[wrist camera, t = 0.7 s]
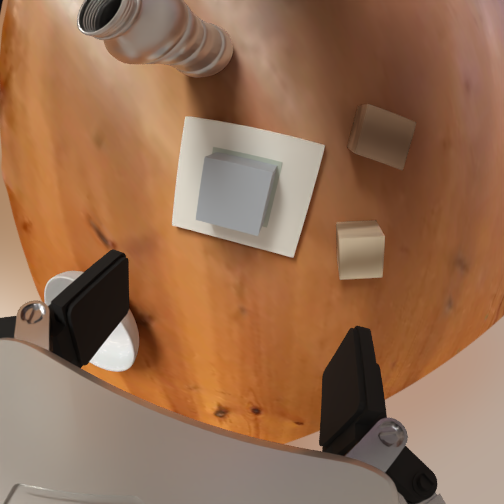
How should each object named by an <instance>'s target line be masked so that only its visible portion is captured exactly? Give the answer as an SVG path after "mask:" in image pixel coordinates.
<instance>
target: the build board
mask: <svg viewBox="0 0 504 504" xmlns="http://www.w3.org/2000/svg"><path fill="white" fill-rule="evenodd" d="M324 148H325V145H323V144H320V143H316V142H312V141H309V140H305V139H301V138H297V137H293V136H289V135H285V134H281V133H277V132H273V131H268V130H264V129H259V128H254V127H249V126H244V125H239V124H234V123H228V122H223V121H217V120H211V119H204V118H198V117H191V116H187V117H185V123H184V129H183V135H182V142H181V149H180V156H179V164H178V172H177V180H176V189H175V198H174V208H173V219H172V225H173V226H177V227H181V228H184V229H188V230H192V231H196V232H199V233H203V234H207V235H211V236H214V237H218V238H222V239H226V240H229V241H233V242H237V243H240V244H244V245H248V246H251V247H255V248H259V249H263V250H266V251H270V252H274V253H277V254H281V255H285V256H288V257H292V258H293V257H294V254H295V250H296V247H297V244H298V241H299V237H300V234H301V231H302V227H303V224H304V220H305V217H306V213H307V210H308V207H309V203H310V200H311V196H312V192H313V189H314V185H315V182H316V178H317V174H318V171H319V167H320V163H321V160H322V156H323V152H324ZM215 152H219V153H224V154H229V155H234V156H239V157H243V158H248V159H252V160H256V161H261V162H265V163H269V164H273V165H277V169H276V173H275V177H274V182H273V186H272V190H271V194H270V199H269V203H268V207H267V211H266V215H265V220H264V223H263V226H262V228H261V230H260V233H259V235H258V236H256V235H252V234H248V233H244V232H240V231H237V230H233V229H229V228H225V227H221V226H218V225H214V224H210V223H206V222H202V221H198V220H196V213H197V205H198V198H199V191H200V184H201V177H202V171H203V164H204V158H205V157H206V156H208V155H211V154H213V153H215Z"/></svg>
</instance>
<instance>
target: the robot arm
mask: <svg viewBox="0 0 504 504" xmlns="http://www.w3.org/2000/svg"><path fill="white" fill-rule="evenodd" d="M128 311H129V271H128V258H126V255H125V254H124V253H122V252H119V251H116V250H111V251H109V252H108V253H107V254H106V255H104V256H103V257H102V258H101V259H99V260H98V261H97V262H96V263H95V264H93V265H92V266H91V267H90V268H88V269H87V270H86V271H85V272H84V273H83V274H81V275H80V276H79V277H78V278H77V279H76V280H74V281H73V282H72V283H71V284H70V285H69V286H67V287H66V288H65V289H64V290H63V291H62V292H61V293H60V294H58V295H57V296H56V297H55V298H54V299H53V300H52V301H51V304H50V305H49V306H47V305H46V304H45V303H44V302H41V301H30V302H27V303H25V304H24V305H22V306H21V307H20V309H19V310H18V313H17V316H11V317H4V318H0V504H445V502H444V500H443V498H442V496H441V495H440V494H438V495H437V494H436V493H435V491H436V489H437V479H436V476H435V474H434V473H433V472H432V471H431V470H430V469H429V468H428V467H427V466H426V465H425V464H424V463H423V462H422V461H421V460H420V459H419V458H418V457H417V456H416V455H415V454H413V453H412V452H411V451H410V450H409V449H408V448H407V447H406V446H405V445H406V443H407V438H408V436H407V431H406V429H405V427H404V426H403V425H402V424H401V423H400V422H399V421H397V420H396V419H393V418H387V416H386V408H385V399H384V392H383V385H382V378H381V372H380V367H379V365H378V364H377V363H376V358H375V352H374V346H373V341H372V335H371V331H370V329H368V328H364V327H360V326H356V327H355V328H350V330H349V331H348V333H347V335H346V336H345V338H344V340H343V341H342V343H341V345H340V346H339V348H338V350H337V351H336V353H335V354H334V356H333V358H332V359H331V361H330V362H329V364H328V366H327V367H326V369H325V371H324V373H323V378H322V404H321V423H320V438H319V439H320V440H319V445H320V446H323V450H322V452H321V451H315V450H309V449H303V448H299V447H294V446H289V445H284V444H280V443H275V442H271V441H266V440H262V439H258V438H254V437H250V436H246V435H243V434H239V433H235V432H232V431H228V430H225V429H222V428H219V427H215V426H212V425H209V424H206V423H203V422H200V421H197V420H194V419H191V418H189V417H186V416H183V415H180V414H178V413H175V412H172V411H170V410H167V409H165V408H162V407H160V406H157V405H155V404H153V403H150V402H148V401H145V400H143V399H141V398H139V397H136V396H134V395H132V394H130V393H128V392H125V391H123V390H121V389H119V388H117V387H115V386H113V385H111V384H109V383H107V382H105V381H103V380H101V379H99V378H97V377H95V376H94V375H92V374H90V373H88V372H86V371H84V370H82V369H81V367H82V366H83V365H87V364H88V363H89V361H90V360H91V359H92V358H93V356H94V355H95V354H96V352H97V351H98V350H99V349H100V347H101V346H102V345H103V343H104V342H105V341H106V340H107V338H108V337H109V336H110V335H111V333H112V332H113V331H114V330H115V328H116V327H117V326H118V325H119V323H120V322H121V321H122V320H123V319H124V317H125V316H126V315H127V313H128Z"/></svg>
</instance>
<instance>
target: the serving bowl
mask: <svg viewBox="0 0 504 504" xmlns="http://www.w3.org/2000/svg"><path fill="white" fill-rule="evenodd" d="M83 273H84V272H81V271H67V272H63V273H61V274H58V275H56V276H54V277H53V278H51V279H50V280H49V281H48V282H47V284H46V287H45V293H44V298H45V304H46V305H47V306H49V305H50V304H51V301H52V300H53V299H54V298H55V297H56V296H57V295H58V294H60V293H61V292H62V291H63V290H64V289H65V288H66V287H67V286H69V285H70V284H71V283H72V282H73V281H74V280H76V279H77V278H78V277H79V276H80V275H81V274H83ZM138 348H139V333H138V328H137V324H136V322H135V319H134V317H133V314H132V312H131V311H130V309H129V311H128V313H127V315H126V316H125V317H124V319H123V320H122V321H121V322H120V323H119V325H118V326H117V327H116V328H115V330H114V331H113V332H112V333H111V335H110V336H109V337H108V338H107V340H106V341H105V342H104V343H103V345H102V346H101V347H100V349H99V350H98V351H97V352H96V354H95V355H94V356H93V358H92V359H91V360H90V361H89V362H90V363H92V364H94V365H96V366H98V367H100V368H103V369H106V370H110V371H118V372H119V371H125V370H127V369H129V368H130V367H131V366H132V365H133V363H134V361H135V358H136V356H137V353H138Z"/></svg>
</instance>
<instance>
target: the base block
mask: <svg viewBox="0 0 504 504" xmlns="http://www.w3.org/2000/svg"><path fill="white" fill-rule="evenodd" d="M276 169H277V165H273V164H269V163H265V162H261V161H256V160H252V159H248V158H243V157H239V156H234V155H229V154H224V153H219V152H215V153H213V154H211V155H208V156H206V157H205V158H204V164H203V171H202V177H201V184H200V191H199V198H198V205H197V213H196V220H198V221H202V222H206V223H210V224H214V225H218V226H221V227H225V228H229V229H233V230H237V231H240V232H244V233H248V234H252V235H256V236H258V235H259V233H260V230H261V228H262V226H263V223H264V220H265V215H266V211H267V207H268V203H269V199H270V194H271V190H272V186H273V182H274V177H275V173H276Z"/></svg>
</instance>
